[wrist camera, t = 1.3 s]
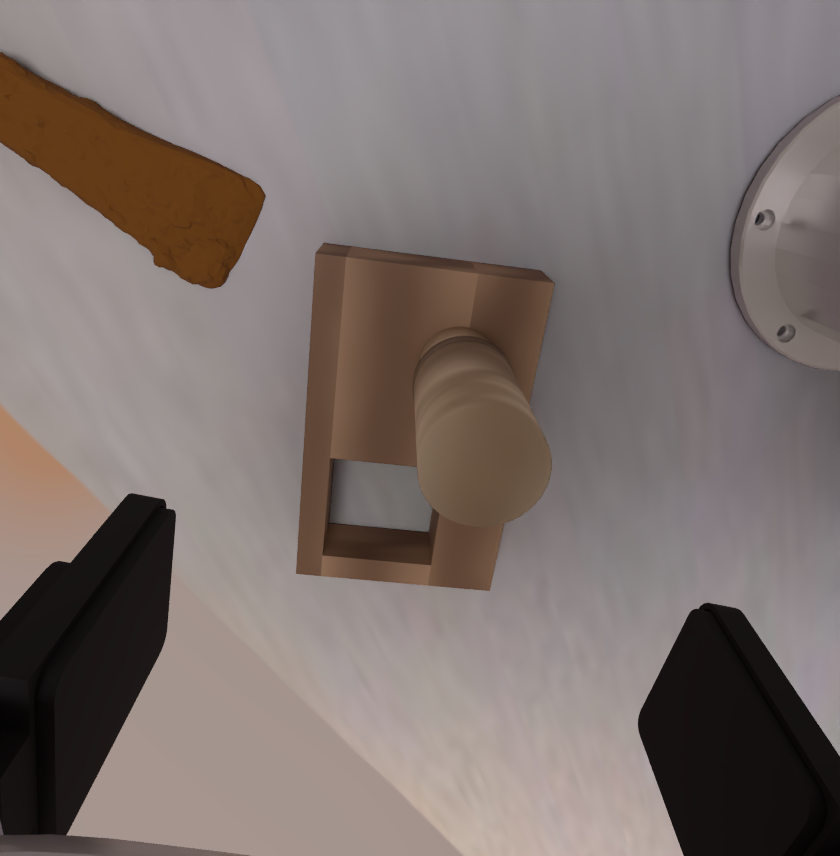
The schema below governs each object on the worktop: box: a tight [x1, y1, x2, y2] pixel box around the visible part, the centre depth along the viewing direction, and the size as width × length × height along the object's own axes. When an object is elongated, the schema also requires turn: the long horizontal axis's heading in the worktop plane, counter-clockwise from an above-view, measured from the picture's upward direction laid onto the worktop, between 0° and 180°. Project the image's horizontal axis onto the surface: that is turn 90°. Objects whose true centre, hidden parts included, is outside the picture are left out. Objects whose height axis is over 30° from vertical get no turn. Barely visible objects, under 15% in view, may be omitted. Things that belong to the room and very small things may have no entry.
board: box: [296, 243, 555, 591], centre depth 31 cm, size 10×16×3 cm, turn 173°
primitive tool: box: [0, 52, 265, 288], centre depth 25 cm, size 19×6×4 cm, turn 59°
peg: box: [412, 327, 552, 527], centre depth 24 cm, size 4×4×10 cm
